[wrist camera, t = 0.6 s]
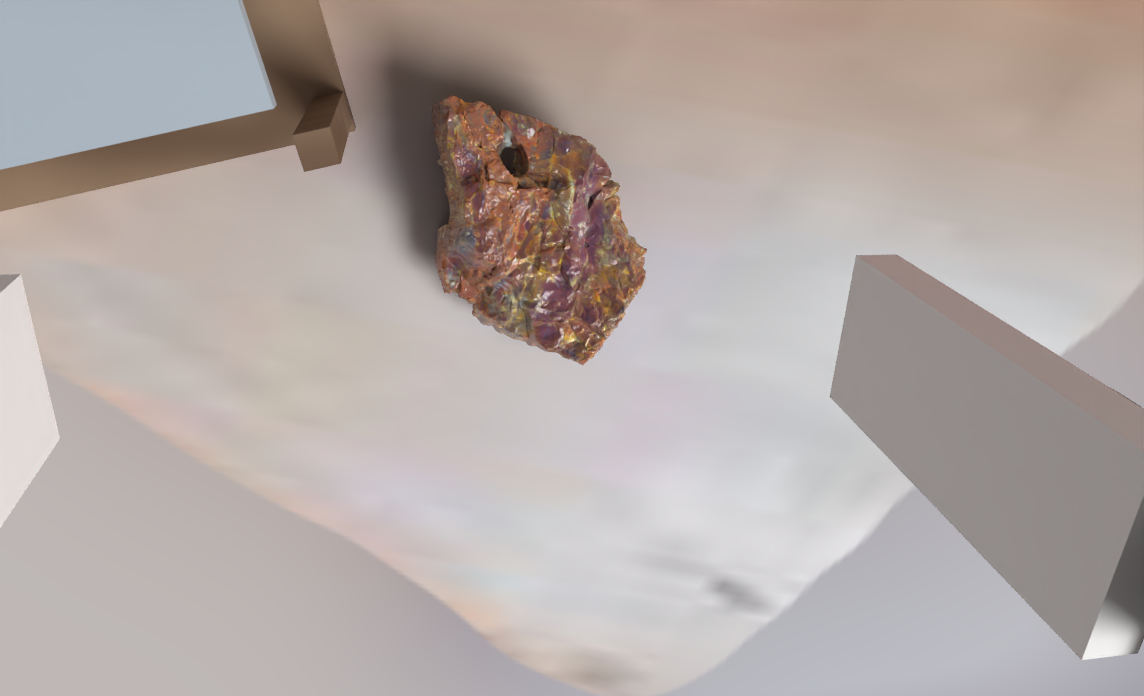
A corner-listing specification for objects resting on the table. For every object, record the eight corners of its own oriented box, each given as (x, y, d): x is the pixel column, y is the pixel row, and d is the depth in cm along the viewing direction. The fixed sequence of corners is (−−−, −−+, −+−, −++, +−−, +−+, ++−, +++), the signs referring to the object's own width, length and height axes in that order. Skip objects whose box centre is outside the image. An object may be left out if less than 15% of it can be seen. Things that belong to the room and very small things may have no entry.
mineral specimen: (342, 262, 37) (378, 230, 31) (416, 115, 39) (464, 57, 33) (573, 381, 42) (645, 374, 35) (629, 243, 43) (706, 213, 37)
